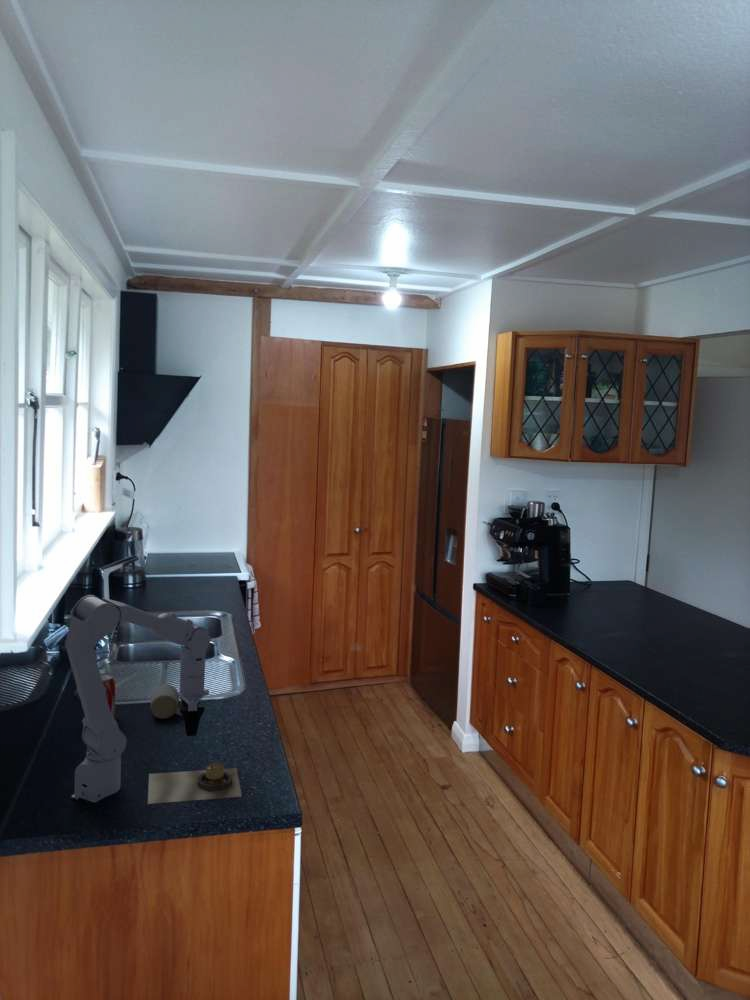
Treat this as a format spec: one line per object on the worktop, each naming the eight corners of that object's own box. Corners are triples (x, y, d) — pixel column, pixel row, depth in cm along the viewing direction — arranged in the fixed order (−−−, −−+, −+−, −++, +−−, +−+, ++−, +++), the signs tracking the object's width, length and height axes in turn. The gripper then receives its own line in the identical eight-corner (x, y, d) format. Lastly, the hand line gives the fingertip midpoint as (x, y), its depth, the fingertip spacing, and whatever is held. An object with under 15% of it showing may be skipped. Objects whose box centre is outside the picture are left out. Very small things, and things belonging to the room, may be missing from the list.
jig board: (147, 808, 166) (147, 798, 166) (149, 778, 179) (149, 769, 179) (241, 800, 171) (242, 791, 171) (236, 772, 184) (236, 763, 184)
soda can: (86, 725, 207) (86, 681, 205) (88, 715, 213) (89, 673, 212) (114, 723, 209) (114, 680, 207) (115, 713, 215) (116, 672, 214)
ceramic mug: (149, 721, 211) (150, 694, 211) (150, 709, 219) (151, 683, 219) (189, 720, 214) (190, 693, 213) (189, 708, 222) (190, 683, 221)
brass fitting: (224, 787, 175) (224, 770, 174) (205, 788, 174) (206, 771, 173) (222, 778, 179) (223, 762, 178) (205, 780, 178) (205, 763, 177)
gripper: (211, 683, 178) (209, 740, 179) (208, 663, 192) (206, 716, 193) (179, 684, 176) (178, 742, 177) (178, 664, 190) (177, 717, 191)
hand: (190, 728), depth 185 cm, fingers open, 7 cm apart
